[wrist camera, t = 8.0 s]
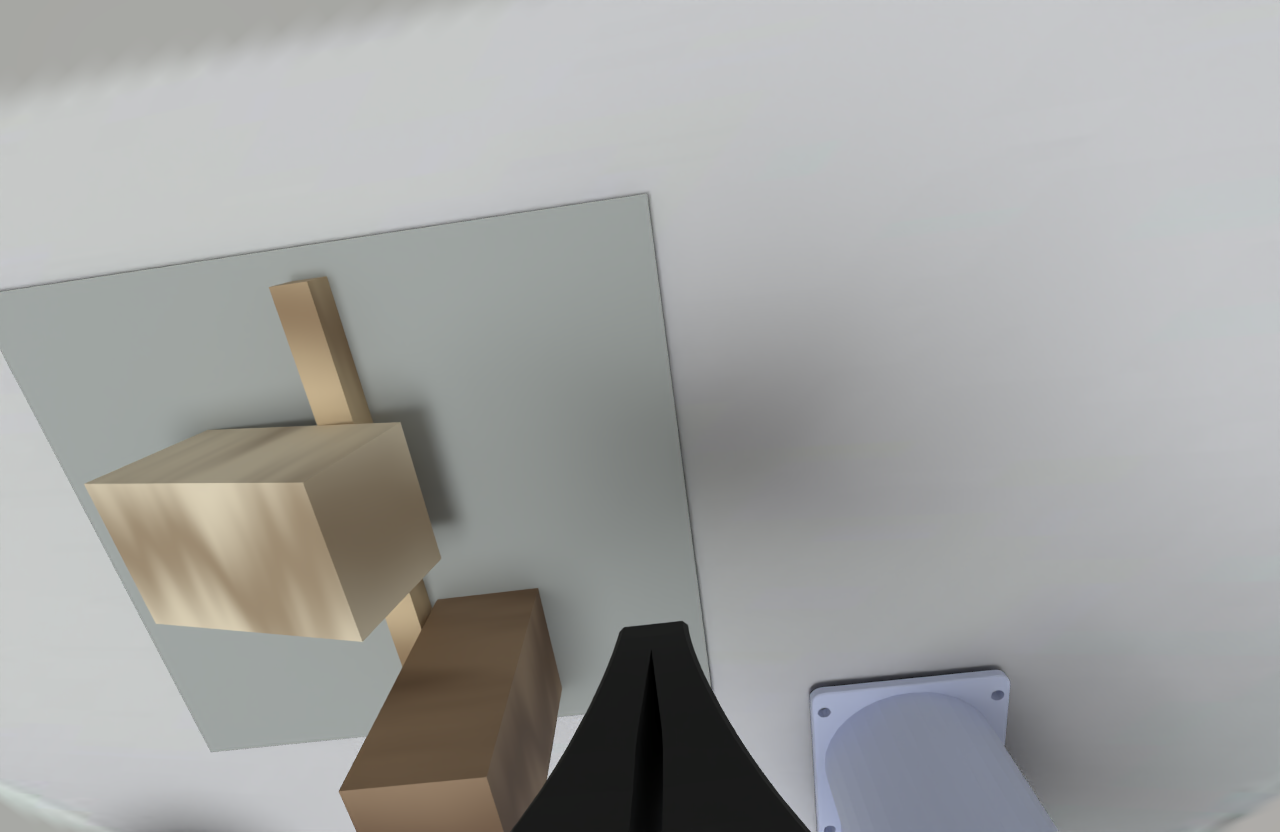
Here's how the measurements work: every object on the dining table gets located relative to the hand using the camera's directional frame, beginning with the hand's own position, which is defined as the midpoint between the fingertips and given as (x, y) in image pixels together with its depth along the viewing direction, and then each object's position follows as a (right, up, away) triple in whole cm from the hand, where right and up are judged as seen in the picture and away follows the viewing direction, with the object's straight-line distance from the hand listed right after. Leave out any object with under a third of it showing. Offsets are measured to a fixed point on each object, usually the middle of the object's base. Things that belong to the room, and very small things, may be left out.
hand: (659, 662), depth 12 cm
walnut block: (-6, -4, +12) cm, 14 cm away
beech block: (-8, +2, +5) cm, 10 cm away
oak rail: (-10, +1, +10) cm, 14 cm away
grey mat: (-10, +1, +10) cm, 14 cm away
